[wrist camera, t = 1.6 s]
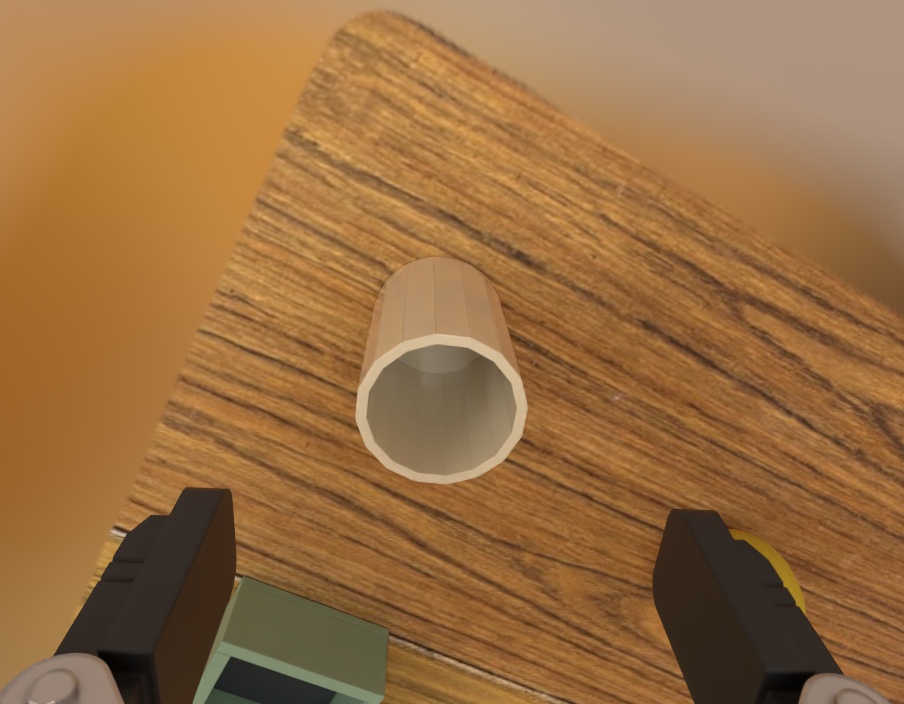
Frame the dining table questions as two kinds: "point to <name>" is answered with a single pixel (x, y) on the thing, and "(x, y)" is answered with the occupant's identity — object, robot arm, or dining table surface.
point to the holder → (292, 653)
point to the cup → (439, 375)
